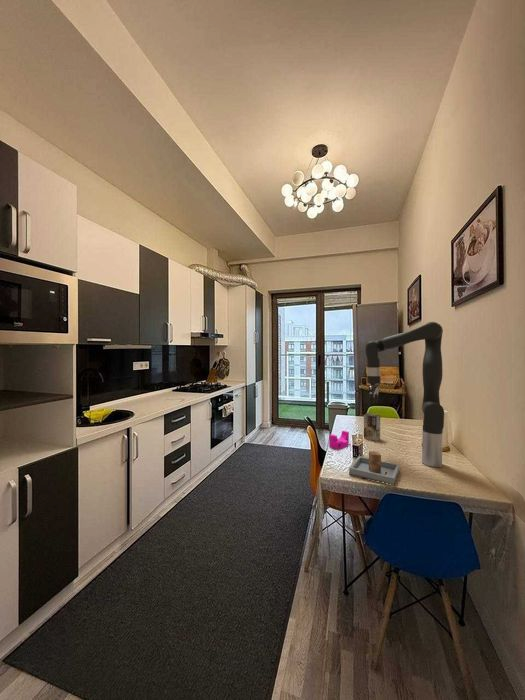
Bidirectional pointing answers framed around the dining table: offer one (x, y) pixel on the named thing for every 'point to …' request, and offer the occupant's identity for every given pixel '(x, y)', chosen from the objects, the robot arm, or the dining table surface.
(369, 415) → the coffee box
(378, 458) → the walnut block
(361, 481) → the dining table surface
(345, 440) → the toy block
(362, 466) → the tray
